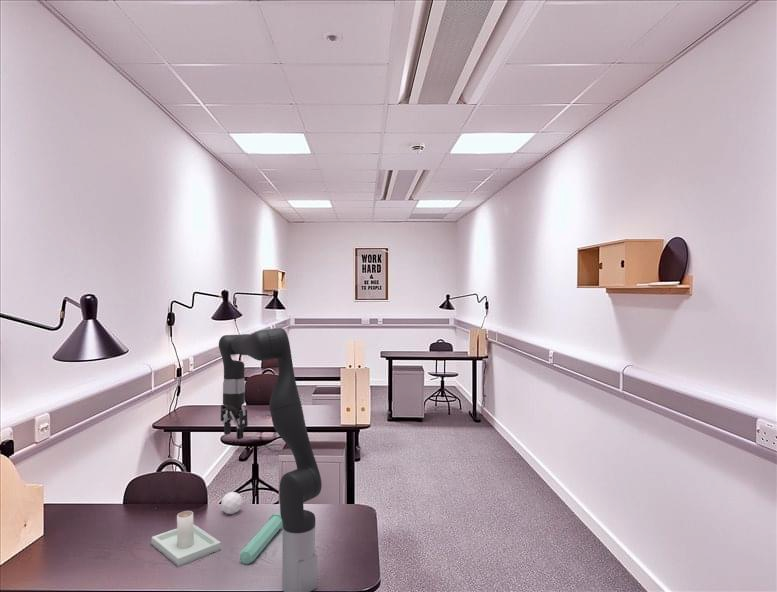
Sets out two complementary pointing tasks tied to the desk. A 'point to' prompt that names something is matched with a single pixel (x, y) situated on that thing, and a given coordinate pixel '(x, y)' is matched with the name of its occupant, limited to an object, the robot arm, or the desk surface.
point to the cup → (185, 529)
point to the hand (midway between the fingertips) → (233, 436)
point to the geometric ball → (231, 503)
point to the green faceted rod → (261, 539)
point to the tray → (181, 556)
